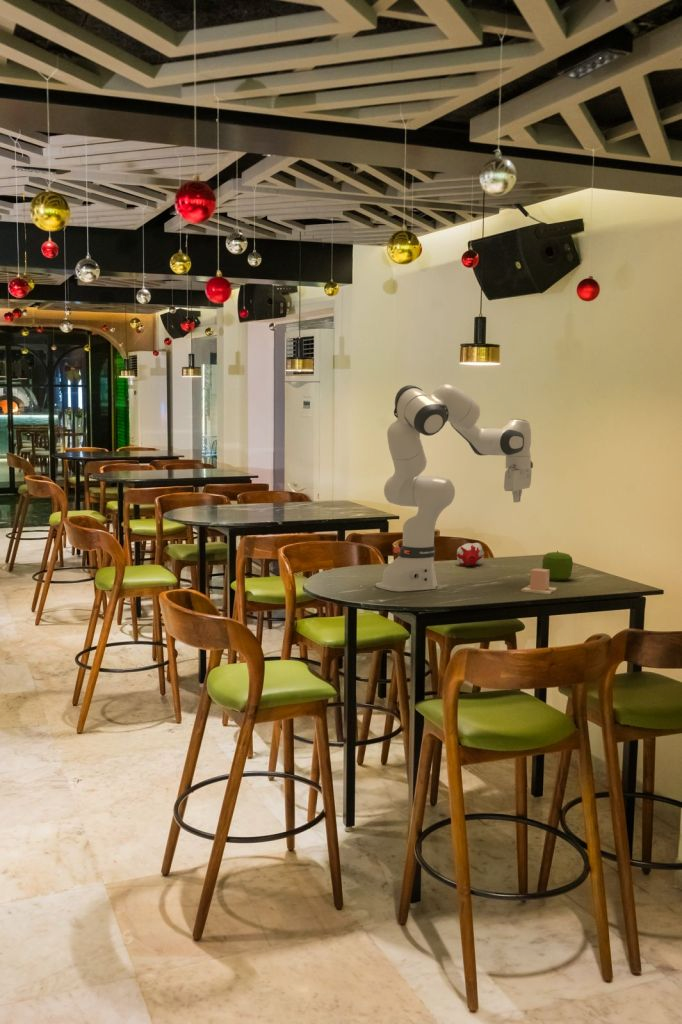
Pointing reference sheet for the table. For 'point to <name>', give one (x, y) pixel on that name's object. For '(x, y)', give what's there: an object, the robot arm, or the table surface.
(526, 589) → the post stand
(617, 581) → the table surface
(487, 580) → the table surface
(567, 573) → the apple
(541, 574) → the salmon orange block
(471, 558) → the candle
